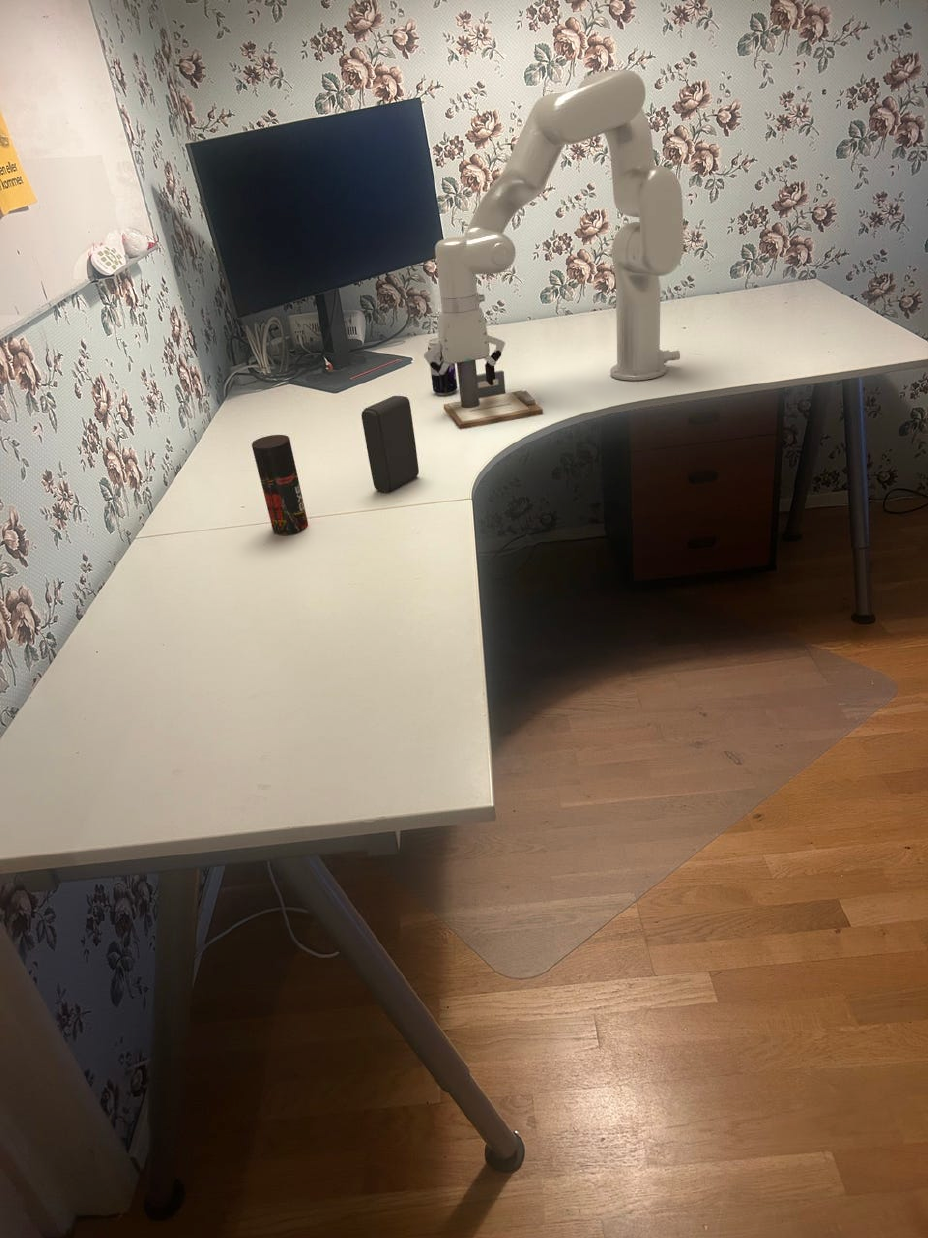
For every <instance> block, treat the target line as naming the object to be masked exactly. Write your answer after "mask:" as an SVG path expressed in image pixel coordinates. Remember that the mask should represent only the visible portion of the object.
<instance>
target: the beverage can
mask: <svg viewBox="0 0 928 1238" xmlns="http://www.w3.org/2000/svg"><path fill="white" fill-rule="evenodd" d="M436 344H438V337H437V338H433V339H430V340H429V341H428V346H427V351H428V350H430V349H431V348H432V347H434V346H435V345H436ZM433 360H434V362H436V363H437V364H438V365H439V363H440V362H441V360H442V359H441V358H440V355H439V352H438V353H437V354H436V355H434V356H433ZM429 369H430V376H431V382H432V391H433V392H434V393H435V394H436V395H438V396H440V395H441V396H442V397H443V395H446V396H450V394H451V395H454V394H455V392H456V390H458V381H457V378H458V377H457V370H456V369H457V368H456V363H455V364H450V365H449V367H448V368H447V370H446V373H447V375H448V382H449V390H450V392H449V393H446V392H445V391H444V389H441V386H440V378H439V373H438V372H437V371H436V370H434V369H433V368H432V367H431V366H430V365H429Z"/></svg>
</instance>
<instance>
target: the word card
mask: <svg viewBox="0 0 928 1238" xmlns="http://www.w3.org/2000/svg"><path fill="white" fill-rule="evenodd" d="M477 381H478V391H479V398H482V397H488V396H493V395H499V394H505V393H506V383H505V372H504V370H497V371H495V380H493V385H489V384H488V383H487V381H486V372H485V373H481V374H480V373H479V374H478V373H477Z"/></svg>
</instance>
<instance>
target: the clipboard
mask: <svg viewBox="0 0 928 1238" xmlns="http://www.w3.org/2000/svg"><path fill="white" fill-rule="evenodd" d="M479 401H480V405H479V406H477V407H474V408H463V407H461V400H459V401H455V402H450V403H444V404H443V405H442V406H443V410H444V411H445V412H446V413H447V415H448V414H449V415H448V416H449V417H450V419H451V418H452V419H451V420H452V421H453V423H454V424H455V425H456V426H457V428H458V429H459V430H464V429H468V428H474V427H479V426H480V427H481V426H485V425H491V424H496V423H501V422H507V421H511V420H518V419H524V418H528V417H534V416H535V417H536V416H539V415H543V414H544V409H543V408H542V407H541V406H540V405H539V404H538V403H537V400H536V398H535V397H534V396H532V395H531V394H530V393H529V392H528V391H527V390H524V391H523V390H517V391H511V392H505V394H499V395H493V396H488V397H482V398H479Z"/></svg>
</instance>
